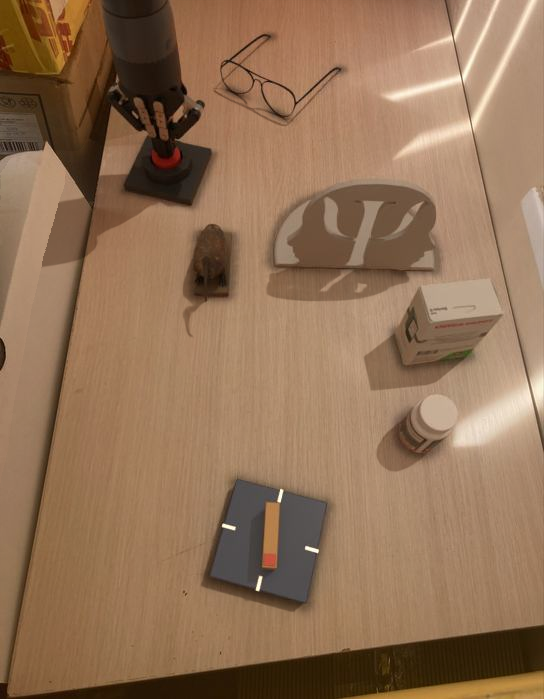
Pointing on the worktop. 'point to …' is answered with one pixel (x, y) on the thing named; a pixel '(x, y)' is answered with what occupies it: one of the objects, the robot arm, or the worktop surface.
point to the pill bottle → (428, 423)
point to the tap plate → (247, 541)
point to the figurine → (212, 262)
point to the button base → (169, 173)
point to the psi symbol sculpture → (360, 228)
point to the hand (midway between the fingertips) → (165, 153)
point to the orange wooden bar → (270, 536)
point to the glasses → (268, 79)
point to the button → (166, 160)
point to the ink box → (447, 320)
